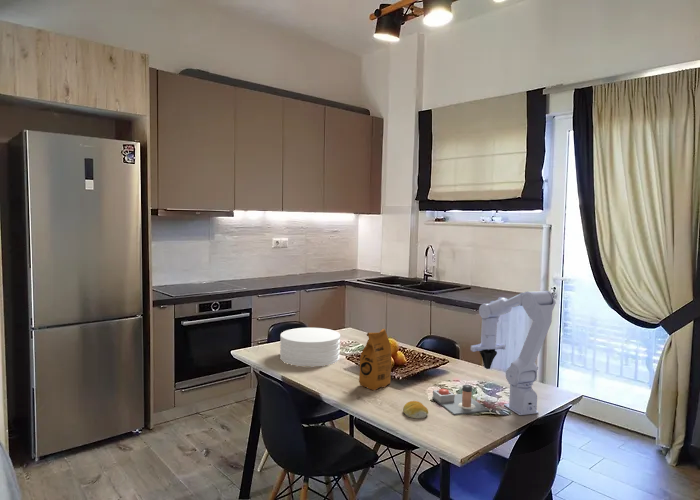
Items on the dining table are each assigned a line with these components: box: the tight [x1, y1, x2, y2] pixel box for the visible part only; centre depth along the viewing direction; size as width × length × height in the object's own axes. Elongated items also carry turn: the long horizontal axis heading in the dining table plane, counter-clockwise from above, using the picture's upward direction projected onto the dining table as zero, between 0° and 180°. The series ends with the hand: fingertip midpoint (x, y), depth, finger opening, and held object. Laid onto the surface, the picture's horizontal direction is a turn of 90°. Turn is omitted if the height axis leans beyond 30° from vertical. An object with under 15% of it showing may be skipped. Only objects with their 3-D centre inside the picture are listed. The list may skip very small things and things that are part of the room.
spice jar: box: [461, 384, 473, 407], centre depth 176 cm, size 3×3×7 cm
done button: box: [438, 388, 450, 395], centre depth 182 cm, size 4×4×3 cm
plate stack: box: [279, 327, 341, 368], centre depth 231 cm, size 28×28×12 cm
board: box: [431, 389, 490, 416], centre depth 179 cm, size 16×14×3 cm
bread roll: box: [402, 400, 429, 419], centre depth 170 cm, size 8×9×4 cm
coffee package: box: [358, 328, 392, 391], centre depth 197 cm, size 10×12×22 cm
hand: (487, 368), depth 192 cm, fingers closed
